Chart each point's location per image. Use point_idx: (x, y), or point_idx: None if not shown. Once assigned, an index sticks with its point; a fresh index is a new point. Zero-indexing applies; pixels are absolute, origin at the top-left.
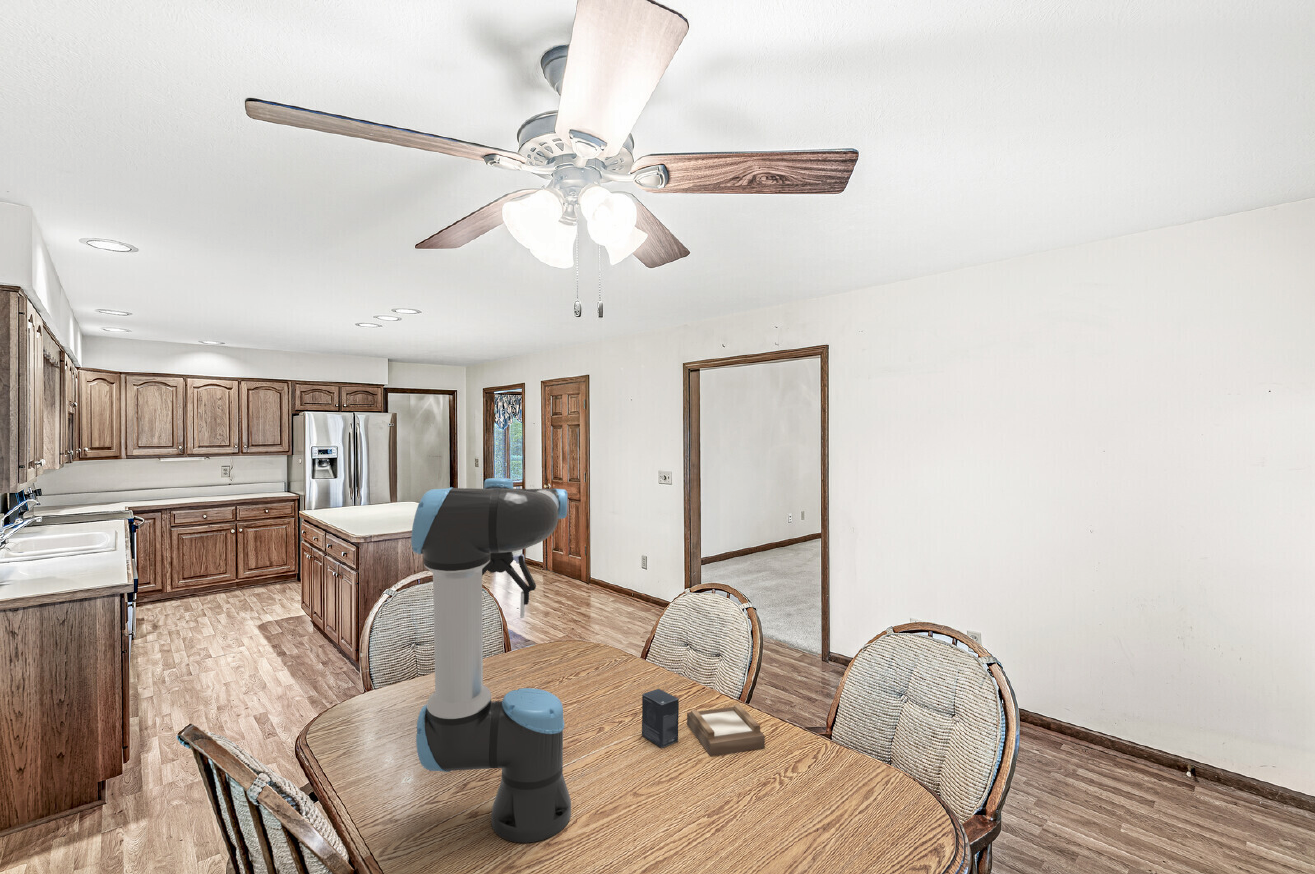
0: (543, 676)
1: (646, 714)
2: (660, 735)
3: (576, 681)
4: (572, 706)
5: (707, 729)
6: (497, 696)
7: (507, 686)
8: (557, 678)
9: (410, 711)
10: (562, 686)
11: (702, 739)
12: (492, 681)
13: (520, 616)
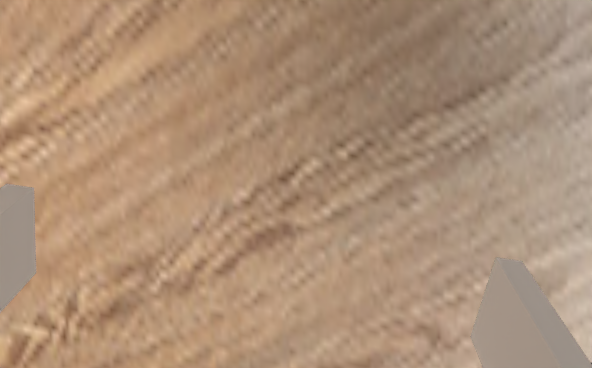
0: (135, 355)
1: None
2: None
3: (16, 296)
4: (15, 104)
5: None
6: (288, 239)
7: (256, 306)
8: (85, 331)
9: (585, 188)
10: (63, 268)
11: None
12: (308, 353)
13: (24, 193)
